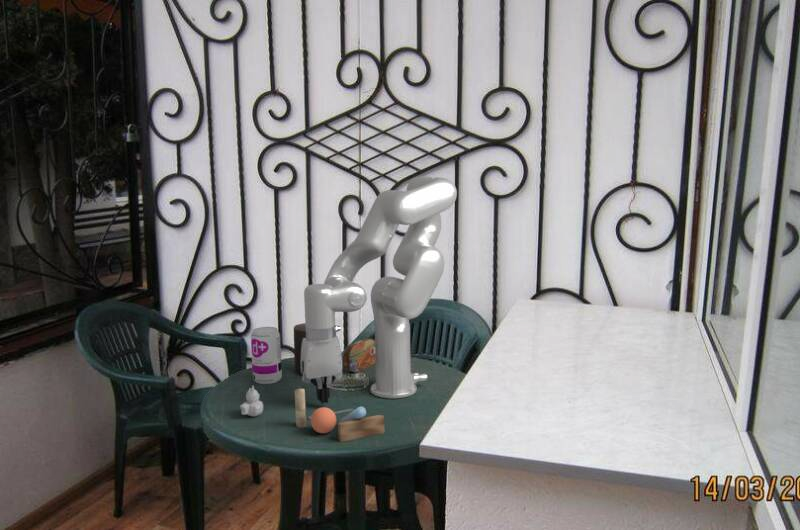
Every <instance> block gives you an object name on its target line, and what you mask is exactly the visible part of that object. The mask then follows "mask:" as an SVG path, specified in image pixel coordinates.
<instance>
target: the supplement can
mask: <svg viewBox="0 0 800 530" xmlns="http://www.w3.org/2000/svg"><path fill="white" fill-rule="evenodd" d="M250 347H251V348H250V349H251V350H250V351H251V352H250V353H251V364H252V365H251V366H252V367H251V368H252V380H253V381H254V382H255V383H256V384H260V385H271V384H275V383H278V382H280V380H281V379H282V377H283V372H282V371H283V370H282V369H283V368H282V351H281V348H282V347H281V334H280V332H279V331H278V327H275V326H260V327H256V328H253V329H252V332H251V334H250ZM277 381H278V382H277Z"/></svg>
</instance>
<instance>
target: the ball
mask: <svg viewBox="0 0 800 530" xmlns="http://www.w3.org/2000/svg"><path fill="white" fill-rule="evenodd" d="M334 412H335V411H333V410H332V409H330V408H329V407H325V406H323V407H319V408H317V409H315V410H314V412H313V413H312V414H311V415H310V416H311V419H310V425H311V427H312V428H313V430H314V431H315V432H317V433H318V434H319V433H320V434H328V433H330V432H331V431H333V429H335V427H336V424H337V416H336V414H335V413H334Z"/></svg>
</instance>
